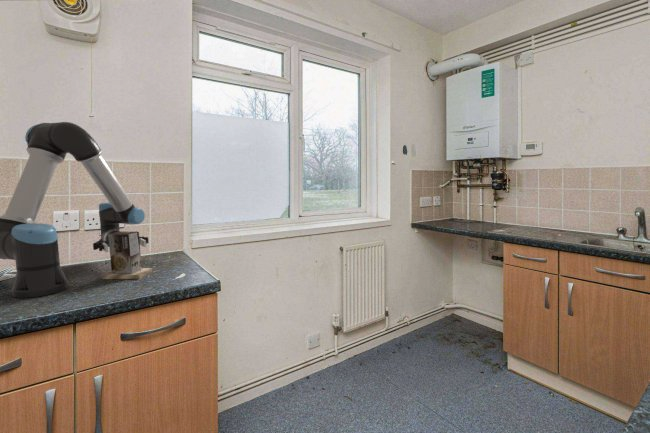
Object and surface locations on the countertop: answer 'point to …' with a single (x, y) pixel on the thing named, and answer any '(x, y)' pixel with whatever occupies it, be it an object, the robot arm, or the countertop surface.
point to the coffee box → (125, 252)
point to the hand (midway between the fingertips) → (126, 246)
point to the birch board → (127, 276)
